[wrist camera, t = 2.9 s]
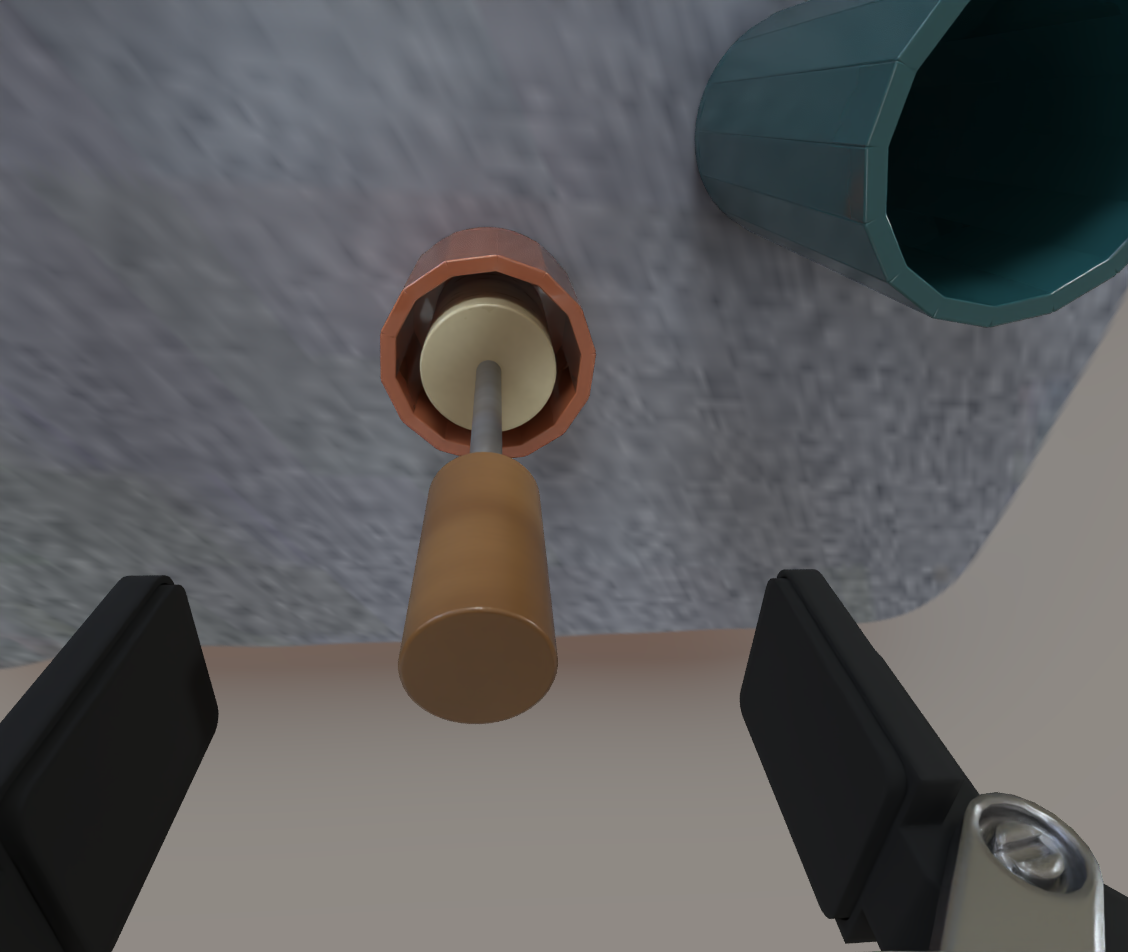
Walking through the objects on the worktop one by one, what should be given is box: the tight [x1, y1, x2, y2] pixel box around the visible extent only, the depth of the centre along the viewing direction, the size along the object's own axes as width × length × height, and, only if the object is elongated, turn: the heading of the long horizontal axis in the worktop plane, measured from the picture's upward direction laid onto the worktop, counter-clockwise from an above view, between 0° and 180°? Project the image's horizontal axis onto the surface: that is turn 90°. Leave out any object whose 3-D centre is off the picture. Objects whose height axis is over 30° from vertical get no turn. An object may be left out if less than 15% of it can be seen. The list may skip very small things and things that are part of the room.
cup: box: [695, 0, 1128, 328], centre depth 19 cm, size 7×7×13 cm
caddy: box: [380, 227, 596, 458], centre depth 24 cm, size 7×7×6 cm
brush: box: [398, 271, 558, 724], centre depth 18 cm, size 4×4×19 cm
